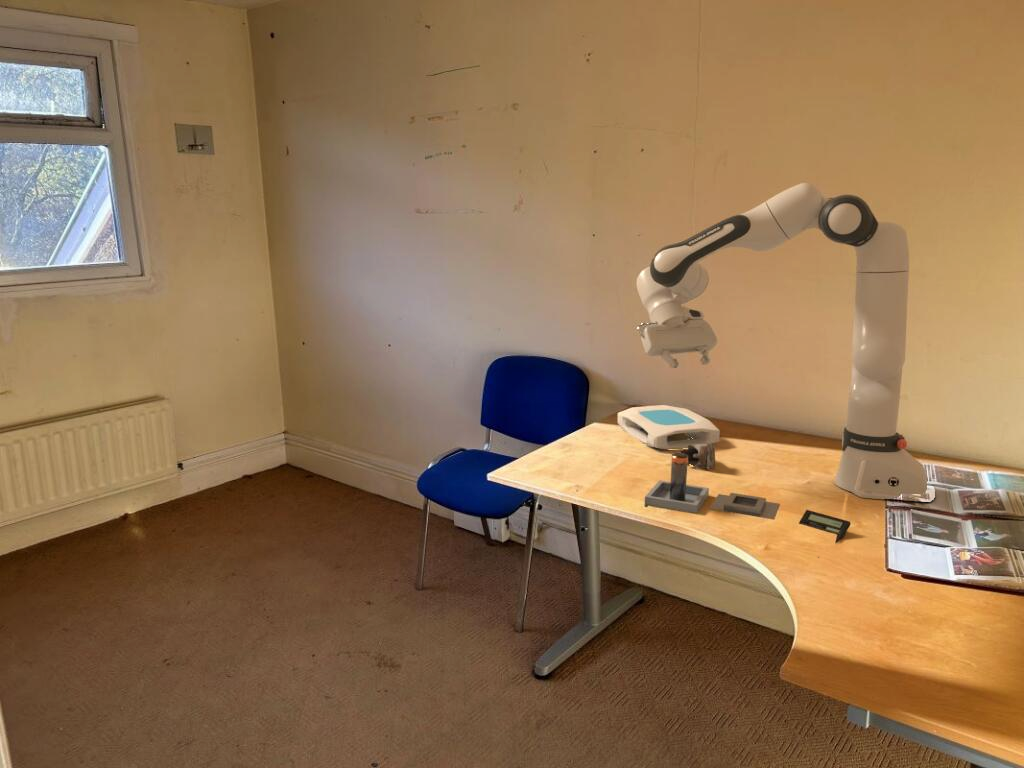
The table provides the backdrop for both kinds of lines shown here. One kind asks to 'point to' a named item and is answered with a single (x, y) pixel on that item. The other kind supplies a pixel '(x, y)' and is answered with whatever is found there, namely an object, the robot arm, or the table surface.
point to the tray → (661, 498)
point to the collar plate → (745, 505)
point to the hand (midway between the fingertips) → (691, 365)
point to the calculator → (825, 523)
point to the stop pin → (678, 476)
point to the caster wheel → (701, 455)
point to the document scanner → (667, 426)
